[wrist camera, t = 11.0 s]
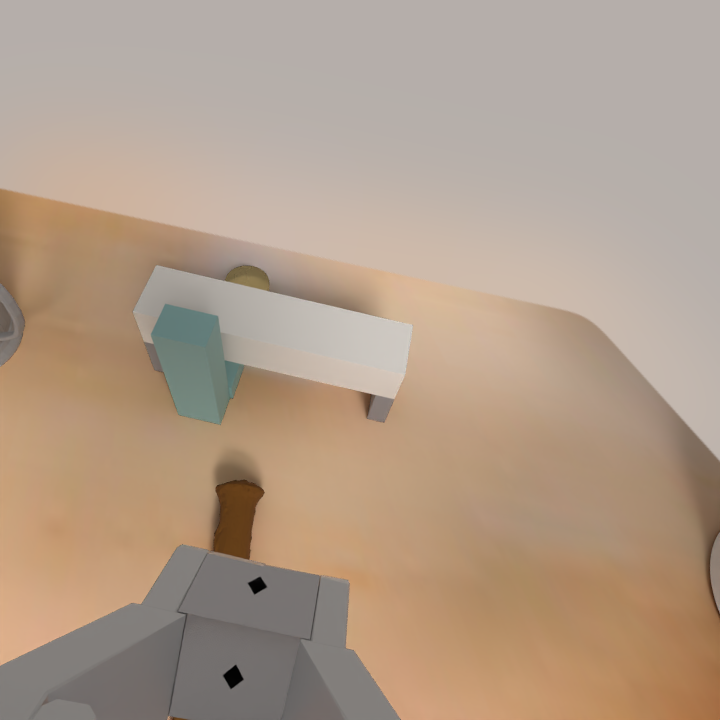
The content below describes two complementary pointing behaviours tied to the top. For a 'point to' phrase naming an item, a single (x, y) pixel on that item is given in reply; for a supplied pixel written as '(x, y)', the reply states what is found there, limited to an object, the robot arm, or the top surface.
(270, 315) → the white bench
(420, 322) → the top surface
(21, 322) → the glass holder
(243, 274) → the token
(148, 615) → the robot arm
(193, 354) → the block
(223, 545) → the primitive tool
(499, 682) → the top surface
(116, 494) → the top surface
